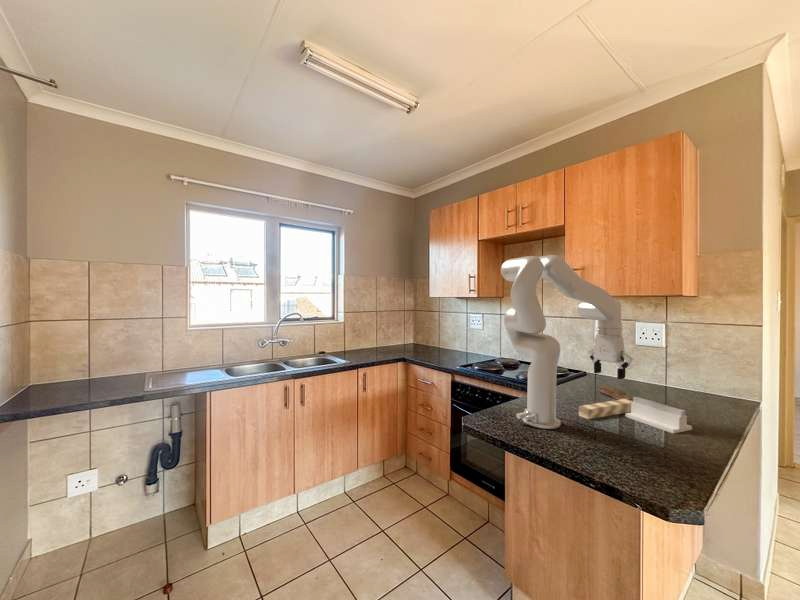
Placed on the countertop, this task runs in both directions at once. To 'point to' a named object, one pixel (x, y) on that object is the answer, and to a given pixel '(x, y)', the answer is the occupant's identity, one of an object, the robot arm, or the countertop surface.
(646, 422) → the ridge stand
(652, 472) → the countertop surface
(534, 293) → the robot arm
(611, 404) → the birch rod
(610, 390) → the wooden fragment
